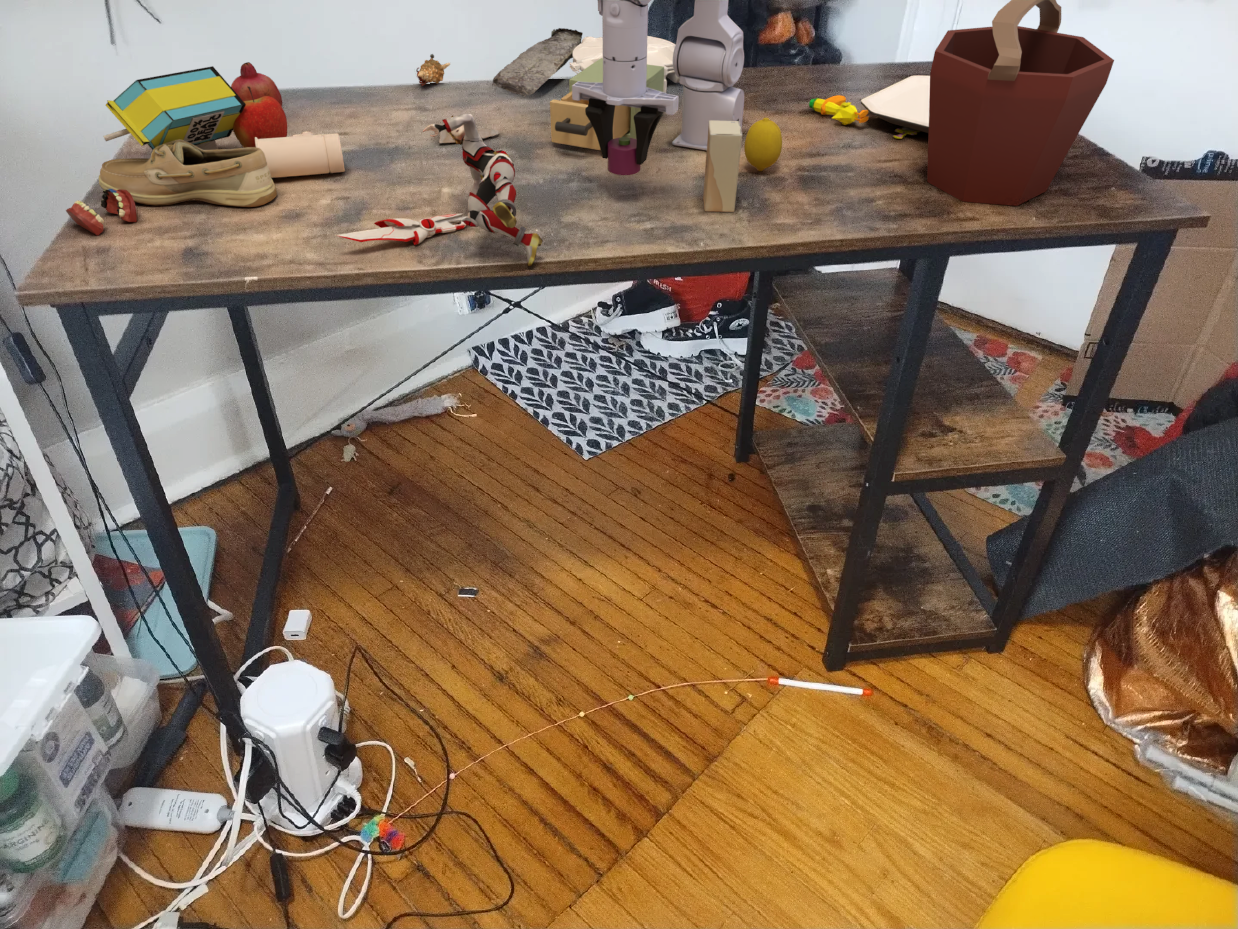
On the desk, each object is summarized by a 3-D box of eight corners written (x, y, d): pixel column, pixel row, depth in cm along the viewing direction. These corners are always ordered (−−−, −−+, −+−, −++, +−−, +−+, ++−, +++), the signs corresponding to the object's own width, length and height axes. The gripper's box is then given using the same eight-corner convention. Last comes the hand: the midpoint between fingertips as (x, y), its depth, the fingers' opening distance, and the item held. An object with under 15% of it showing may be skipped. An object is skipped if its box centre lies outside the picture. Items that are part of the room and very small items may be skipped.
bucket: (998, 231, 120) (1057, 33, 104) (868, 179, 133) (902, -4, 117) (1093, 181, 132) (1159, -4, 115) (965, 137, 145) (1008, -34, 128)
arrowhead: (439, 148, 142) (501, 145, 144) (439, 141, 141) (501, 137, 143) (436, 130, 145) (496, 127, 147) (435, 123, 144) (496, 120, 146)
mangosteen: (645, 165, 125) (646, 135, 122) (633, 177, 122) (633, 147, 119) (615, 160, 126) (615, 130, 123) (602, 172, 123) (602, 142, 120)
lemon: (777, 164, 137) (784, 111, 132) (779, 179, 133) (786, 125, 127) (741, 163, 137) (747, 110, 132) (742, 177, 133) (747, 123, 128)
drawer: (601, 161, 135) (600, 119, 131) (540, 150, 138) (538, 109, 134) (639, 127, 146) (639, 88, 142) (581, 118, 149) (581, 79, 145)
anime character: (372, 317, 101) (314, 199, 115) (458, 374, 114) (396, 261, 127) (519, 179, 97) (440, 73, 110) (591, 255, 110) (512, 151, 123)
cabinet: (634, 140, 144) (635, 89, 139) (570, 130, 148) (568, 79, 142) (662, 115, 153) (664, 66, 148) (601, 106, 156) (600, 57, 151)
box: (702, 196, 128) (708, 118, 121) (732, 197, 128) (740, 119, 120) (704, 212, 124) (710, 133, 117) (735, 213, 124) (742, 133, 116)
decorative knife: (928, 117, 152) (952, 125, 149) (927, 120, 152) (951, 128, 149) (883, 131, 146) (907, 140, 143) (883, 134, 147) (907, 143, 144)
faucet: (254, 141, 125) (339, 134, 128) (255, 124, 135) (334, 119, 138) (263, 185, 128) (346, 178, 131) (264, 165, 138) (340, 159, 141)
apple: (249, 168, 134) (231, 100, 128) (233, 151, 139) (215, 85, 133) (301, 156, 138) (286, 90, 131) (284, 140, 143) (268, 75, 136)
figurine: (397, 82, 161) (413, 103, 163) (415, 70, 158) (431, 92, 160) (435, 48, 169) (450, 69, 171) (452, 36, 166) (467, 58, 168)
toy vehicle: (546, 31, 169) (548, 65, 173) (598, 74, 152) (599, 111, 156) (657, 15, 176) (656, 48, 180) (718, 54, 159) (715, 90, 163)
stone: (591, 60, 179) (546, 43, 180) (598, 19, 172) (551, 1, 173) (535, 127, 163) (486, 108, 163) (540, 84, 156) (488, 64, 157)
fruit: (285, 132, 145) (270, 68, 139) (233, 136, 144) (216, 71, 138) (289, 115, 151) (275, 53, 145) (240, 118, 150) (223, 56, 144)
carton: (194, 102, 135) (88, 124, 121) (211, 64, 130) (103, 83, 116) (228, 141, 135) (127, 167, 122) (246, 105, 130) (143, 128, 117)
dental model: (55, 197, 116) (114, 179, 121) (67, 226, 119) (124, 208, 124) (77, 210, 114) (136, 191, 119) (88, 240, 117) (146, 220, 121)
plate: (1014, 162, 136) (1019, 148, 134) (845, 117, 149) (848, 103, 148) (1073, 118, 153) (1078, 105, 152) (917, 82, 167) (920, 69, 166)
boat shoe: (93, 202, 124) (71, 145, 119) (126, 176, 131) (107, 121, 126) (262, 215, 123) (247, 158, 117) (288, 188, 129) (275, 133, 124)
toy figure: (880, 119, 149) (830, 104, 157) (880, 98, 147) (830, 83, 155) (849, 134, 147) (801, 118, 155) (849, 112, 145) (800, 97, 153)
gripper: (560, 56, 113) (564, 160, 122) (666, 71, 109) (662, 178, 118) (583, 41, 118) (585, 143, 127) (685, 55, 114) (680, 159, 123)
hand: (624, 158), depth 123 cm, fingers closed on mangosteen, 4 cm apart
